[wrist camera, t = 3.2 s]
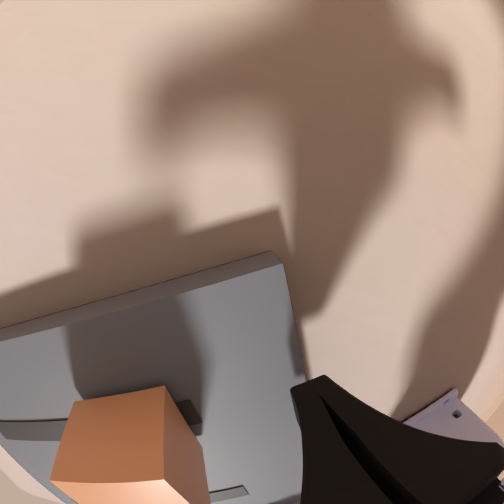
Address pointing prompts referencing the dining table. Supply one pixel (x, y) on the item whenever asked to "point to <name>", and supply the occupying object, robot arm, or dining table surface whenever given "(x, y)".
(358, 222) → the dining table surface
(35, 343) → the panel
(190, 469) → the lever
